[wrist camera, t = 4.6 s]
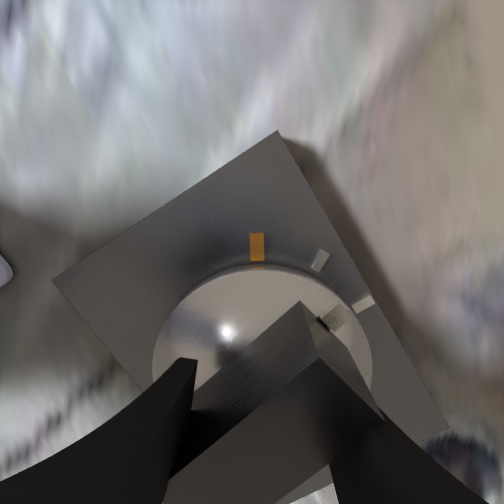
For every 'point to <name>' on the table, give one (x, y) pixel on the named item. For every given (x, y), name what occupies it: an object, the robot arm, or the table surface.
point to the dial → (265, 384)
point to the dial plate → (234, 255)
